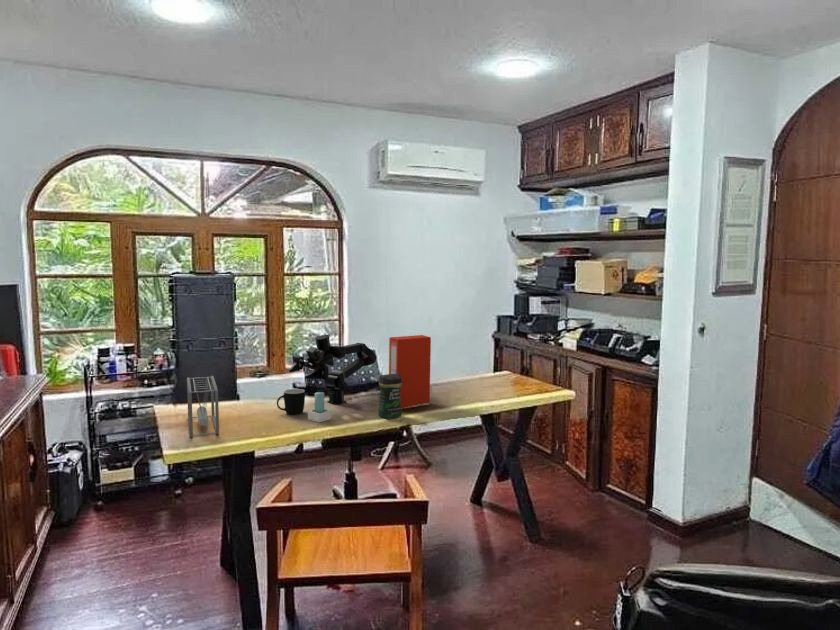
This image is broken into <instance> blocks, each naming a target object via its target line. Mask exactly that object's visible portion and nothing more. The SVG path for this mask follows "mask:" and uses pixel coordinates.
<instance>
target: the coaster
mask: <svg viewBox="0 0 840 630" xmlns="http://www.w3.org/2000/svg"><path fill="white" fill-rule="evenodd" d="M341 419H343V420H344V421H348V422H349V421H351V422H354V421H355V422H356V421H361V420H365V419H366V415H364V414H360V413H350V414H348V413H347V414H344V415H342V416H341Z"/></svg>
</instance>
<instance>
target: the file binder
mask: <svg viewBox="0 0 840 630" xmlns="http://www.w3.org/2000/svg"><path fill="white" fill-rule="evenodd" d="M388 339H389V342H388V343H389V345H388V346H389V347H388V350H389V351H388V374H399V375H401V378H402V385H401V388H400V400H401V408H404V407H408V406H412V405H417V404H423V403H429V402H430V401H431V399H430V398H431V397H430V396H431V391H430V390H431V352H432V350H431V349H432V348H431V347H432V346H431V344H432V341H431V336H427V335H423V334H418V335H407V336H406V335H404V336H391V337H389V338H388Z"/></svg>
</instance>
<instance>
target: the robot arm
mask: <svg viewBox="0 0 840 630" xmlns="http://www.w3.org/2000/svg"><path fill="white" fill-rule="evenodd" d="M314 340H315V346H316V347H314V346H309V347H308V348H307V349H306V351H305V353H306V354H307V357H306V360H304V357H303V356H302V355H299V354H298V353H297V354H294V355H293V356H292V365H291V367H289V370H288V373H295V372H300V371H301V370H302V369H304V367H306V368H307V370H308V371H310V372H309V373H308V374H306V375H305V376H304V379H306V380H324V384H325V387H326V389H327V390H329V394H328V400H327V403H330V404H334V405H339V404H343V402H344V403H347V400H345V392H346V390H348V386H349V385H348V384H347V382H346V380H347V379H348V378H349V377H350V376H352V375H353V374H355V373H357V372H358V371H359V370H360V369H362V368H364V367H367V366H371V365H374V364H375V362H376V361H377V355H376V353H375V352H374V350H372V349H371V348H369V347H368V346H367V345H366V343H364V342H356V343H351V344H347V345H341V346H340V345H331V341H330V335H329V334H326V333H325V334H321V335H317V336H315V337H314ZM350 354H356V359H355V360H353V361H351V362H350V363H349V364H347V365H346V366H345V367H343V368H341V369H340V370H339V369H332V370H331V371H329V366H331V367H333V366H334V362H335V360H334V359H337V360H341V359H344V357H345V356H346V355H350Z"/></svg>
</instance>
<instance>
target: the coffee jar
mask: <svg viewBox="0 0 840 630" xmlns="http://www.w3.org/2000/svg"><path fill="white" fill-rule="evenodd" d="M378 380H379V381H378V385H379V389H380V394H379V403H378V412H377V414H378V416H379V417H380V418H381V419H385V420H391V419H396V418H397V417H398V418H401V416H402V410H401V400H400V388H401V385H402V378H401V375H399V374H389V373H388V374H381V375H380V376H379V378H378Z"/></svg>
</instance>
